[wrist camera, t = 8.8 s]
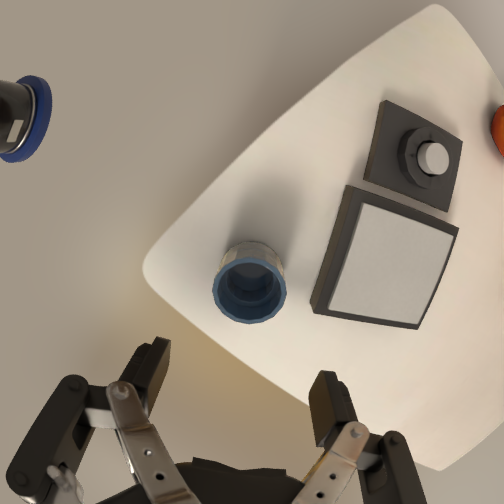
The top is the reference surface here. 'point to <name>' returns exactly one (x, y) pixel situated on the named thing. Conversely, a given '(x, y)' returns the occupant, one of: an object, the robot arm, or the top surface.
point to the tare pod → (410, 156)
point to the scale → (382, 262)
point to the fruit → (498, 129)
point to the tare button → (433, 158)
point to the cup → (250, 283)
